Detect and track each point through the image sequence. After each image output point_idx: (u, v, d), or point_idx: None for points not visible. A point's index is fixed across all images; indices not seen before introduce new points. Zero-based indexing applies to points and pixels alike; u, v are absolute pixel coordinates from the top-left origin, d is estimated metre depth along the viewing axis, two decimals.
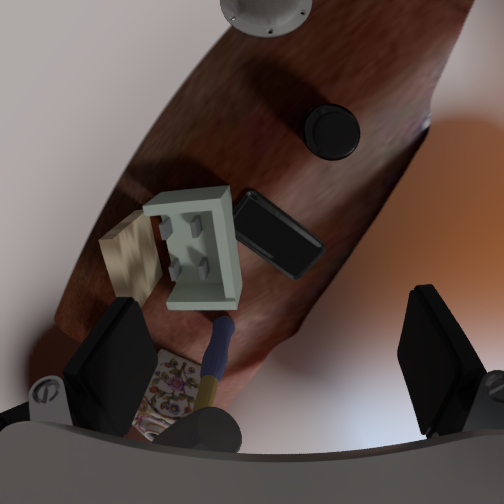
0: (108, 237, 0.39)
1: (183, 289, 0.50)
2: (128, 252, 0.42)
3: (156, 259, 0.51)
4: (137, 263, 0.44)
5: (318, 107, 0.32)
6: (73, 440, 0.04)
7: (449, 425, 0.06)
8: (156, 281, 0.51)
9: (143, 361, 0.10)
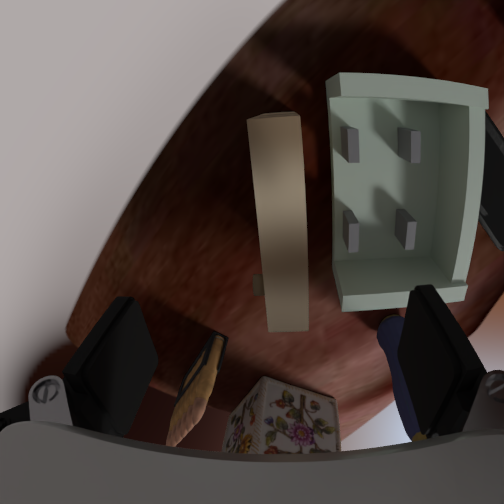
0: (275, 117, 0.14)
1: (358, 270, 0.26)
2: None
3: None
4: None
5: None
6: (73, 440, 0.04)
7: (449, 425, 0.06)
8: None
9: (143, 361, 0.10)
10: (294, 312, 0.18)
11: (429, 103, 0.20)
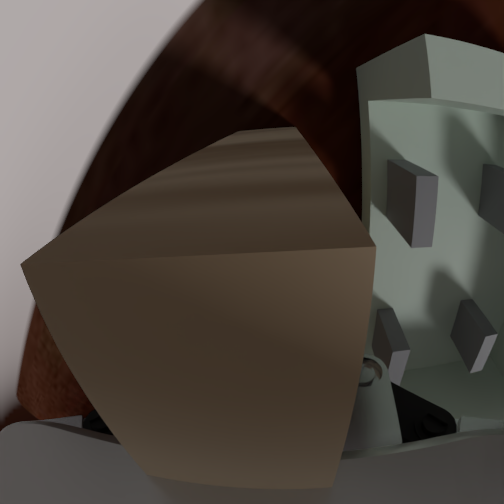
0: (197, 219, 0.02)
1: None
2: None
3: None
4: None
5: None
6: (73, 440, 0.04)
7: None
8: None
9: None
10: None
11: None
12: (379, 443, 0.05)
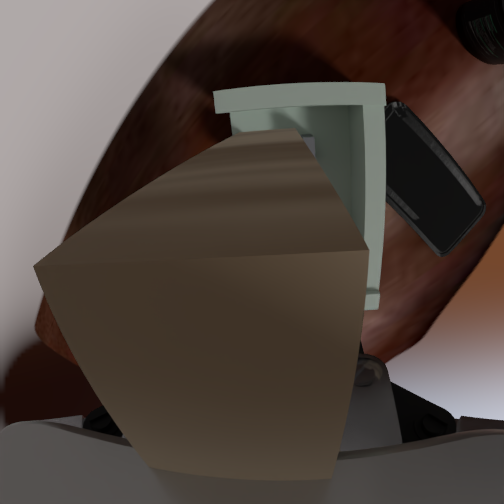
0: (203, 223, 0.02)
1: None
2: None
3: None
4: None
5: None
6: (73, 440, 0.04)
7: None
8: None
9: None
10: None
11: (336, 106, 0.22)
12: (379, 443, 0.05)
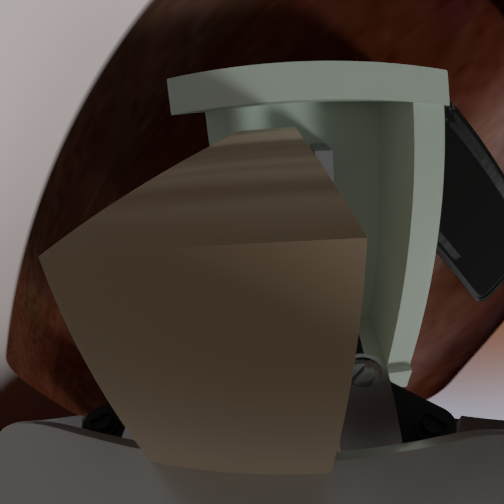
0: (205, 215, 0.03)
1: None
2: None
3: None
4: None
5: None
6: (73, 440, 0.04)
7: None
8: None
9: None
10: None
11: (362, 103, 0.15)
12: (379, 443, 0.05)
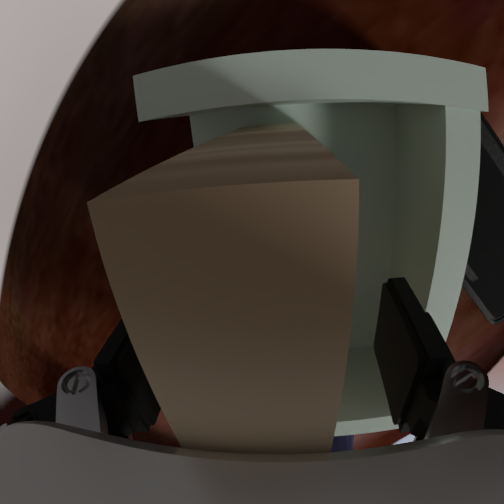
0: (230, 172, 0.03)
1: None
2: None
3: None
4: None
5: None
6: (73, 440, 0.04)
7: (416, 414, 0.06)
8: None
9: None
10: None
11: (376, 105, 0.12)
12: None
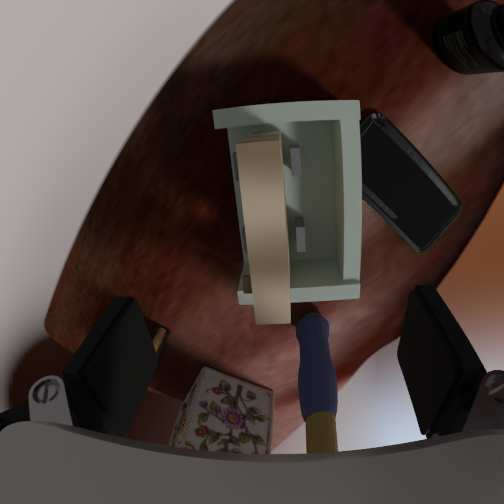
0: (259, 141, 0.17)
1: None
2: None
3: None
4: None
5: (484, 0, 0.13)
6: (73, 440, 0.04)
7: (449, 425, 0.06)
8: None
9: (143, 361, 0.10)
10: (278, 306, 0.21)
11: (320, 120, 0.26)
12: None
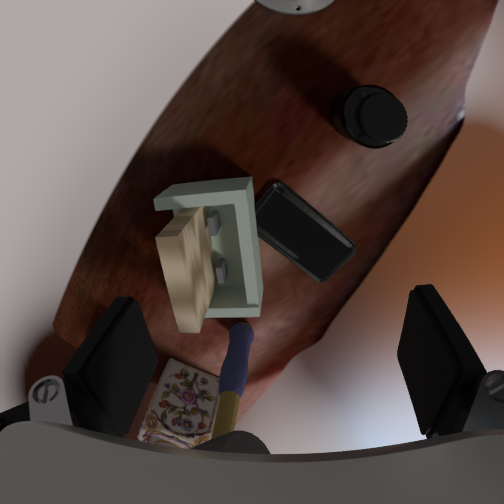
0: (169, 234, 0.31)
1: None
2: (190, 254, 0.34)
3: (213, 262, 0.43)
4: (199, 268, 0.37)
5: (359, 88, 0.27)
6: (73, 440, 0.04)
7: (449, 425, 0.06)
8: (213, 289, 0.43)
9: (143, 361, 0.10)
10: (190, 323, 0.35)
11: None
12: None
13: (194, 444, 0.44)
